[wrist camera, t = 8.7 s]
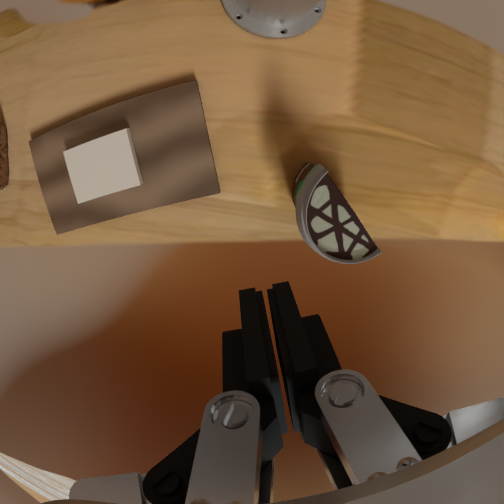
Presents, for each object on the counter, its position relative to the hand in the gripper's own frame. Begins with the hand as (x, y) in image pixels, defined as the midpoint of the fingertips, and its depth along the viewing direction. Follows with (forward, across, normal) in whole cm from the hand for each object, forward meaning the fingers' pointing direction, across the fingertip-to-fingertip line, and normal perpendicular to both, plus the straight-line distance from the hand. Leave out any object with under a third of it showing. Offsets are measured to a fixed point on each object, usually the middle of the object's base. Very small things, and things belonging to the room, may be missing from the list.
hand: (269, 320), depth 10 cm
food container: (+29, -8, +6) cm, 31 cm away
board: (+29, +15, -5) cm, 33 cm away
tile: (+27, +12, -5) cm, 30 cm away
